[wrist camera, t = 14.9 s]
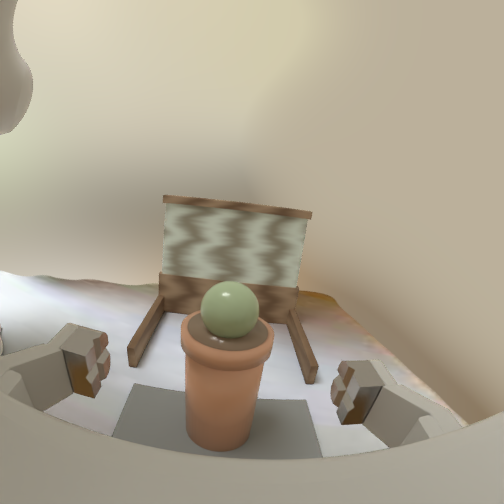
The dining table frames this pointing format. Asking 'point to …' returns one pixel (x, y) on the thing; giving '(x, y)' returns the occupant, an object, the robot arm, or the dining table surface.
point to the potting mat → (176, 439)
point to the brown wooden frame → (230, 264)
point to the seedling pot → (224, 365)
